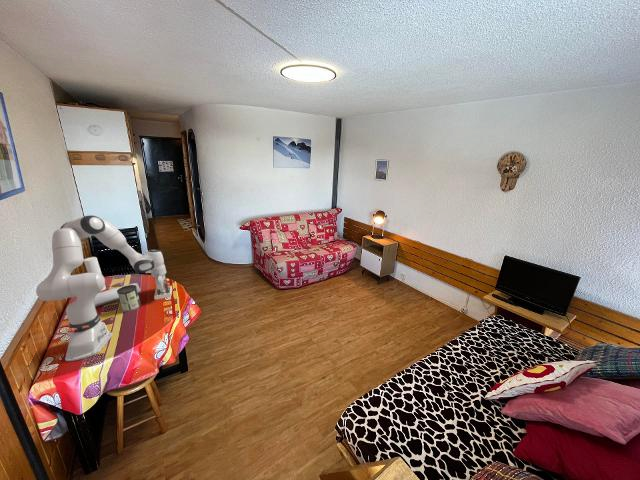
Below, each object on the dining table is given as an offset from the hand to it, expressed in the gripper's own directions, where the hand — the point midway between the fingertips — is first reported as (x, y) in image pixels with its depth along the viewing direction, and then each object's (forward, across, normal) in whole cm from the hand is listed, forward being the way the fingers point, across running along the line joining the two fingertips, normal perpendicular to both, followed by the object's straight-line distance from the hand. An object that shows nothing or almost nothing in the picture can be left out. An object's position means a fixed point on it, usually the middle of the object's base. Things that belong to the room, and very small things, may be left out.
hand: (162, 288), depth 185 cm
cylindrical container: (+5, +29, +44) cm, 53 cm away
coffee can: (+5, -9, +18) cm, 21 cm away
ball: (+4, 0, 0) cm, 4 cm away
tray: (+5, +11, +32) cm, 34 cm away
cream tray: (+5, 0, 0) cm, 5 cm away
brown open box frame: (+4, 0, 0) cm, 4 cm away
